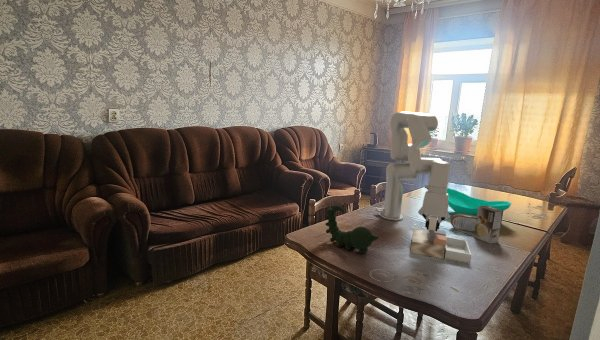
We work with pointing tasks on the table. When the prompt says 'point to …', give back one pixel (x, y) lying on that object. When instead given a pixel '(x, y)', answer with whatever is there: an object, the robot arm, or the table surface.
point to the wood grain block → (425, 245)
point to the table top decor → (471, 203)
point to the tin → (464, 222)
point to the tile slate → (440, 232)
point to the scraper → (432, 227)
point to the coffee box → (488, 224)
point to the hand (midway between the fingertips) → (431, 229)
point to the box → (457, 250)
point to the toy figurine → (348, 233)
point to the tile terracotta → (440, 240)
